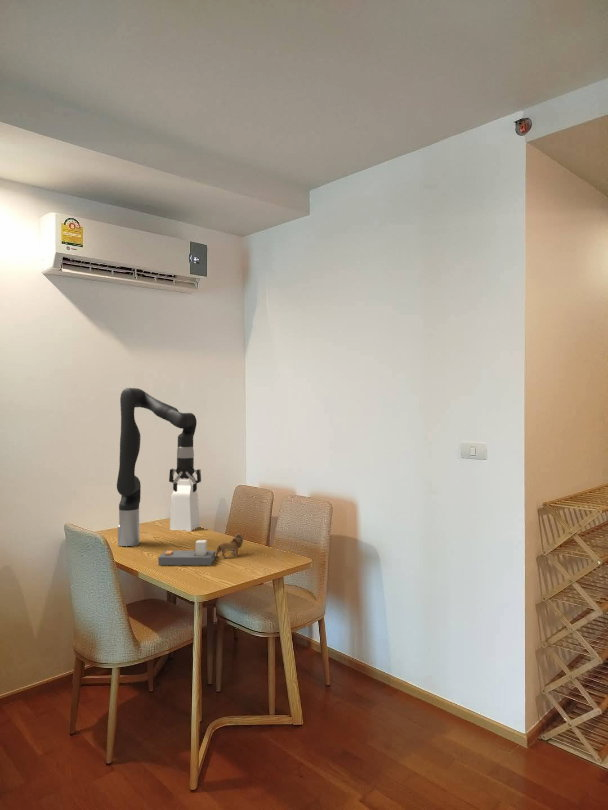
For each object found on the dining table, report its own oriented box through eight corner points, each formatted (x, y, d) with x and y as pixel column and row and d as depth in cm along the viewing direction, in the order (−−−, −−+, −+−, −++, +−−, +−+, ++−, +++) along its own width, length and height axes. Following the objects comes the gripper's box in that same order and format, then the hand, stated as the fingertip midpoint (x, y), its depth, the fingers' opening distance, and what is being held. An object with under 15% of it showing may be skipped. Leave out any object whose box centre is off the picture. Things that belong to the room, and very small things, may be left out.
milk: (169, 530, 286) (169, 481, 285) (179, 525, 297) (179, 478, 296) (190, 531, 283) (190, 482, 282) (199, 526, 294) (199, 479, 294)
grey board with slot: (158, 565, 226) (158, 555, 226) (165, 558, 236) (165, 548, 236) (210, 565, 225) (210, 555, 225) (215, 558, 235) (215, 548, 235)
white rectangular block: (195, 563, 228) (195, 542, 228) (197, 560, 232) (197, 540, 232) (205, 563, 228) (204, 542, 228) (207, 560, 232) (206, 540, 232)
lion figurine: (239, 551, 245) (238, 532, 245) (246, 554, 241) (245, 534, 241) (211, 558, 235) (211, 538, 235) (218, 561, 231) (218, 540, 231)
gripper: (167, 457, 243) (167, 492, 243) (198, 457, 242) (198, 493, 242) (172, 455, 250) (172, 490, 251) (202, 455, 250) (202, 490, 250)
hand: (185, 491), depth 246 cm, fingers open, 8 cm apart
